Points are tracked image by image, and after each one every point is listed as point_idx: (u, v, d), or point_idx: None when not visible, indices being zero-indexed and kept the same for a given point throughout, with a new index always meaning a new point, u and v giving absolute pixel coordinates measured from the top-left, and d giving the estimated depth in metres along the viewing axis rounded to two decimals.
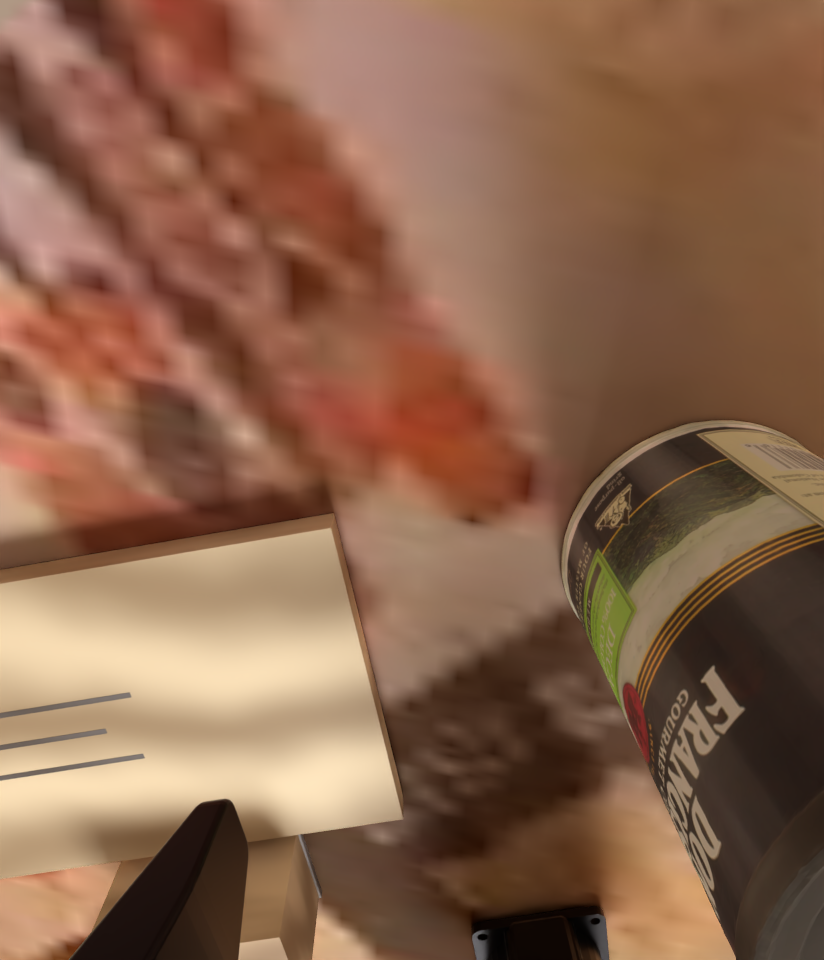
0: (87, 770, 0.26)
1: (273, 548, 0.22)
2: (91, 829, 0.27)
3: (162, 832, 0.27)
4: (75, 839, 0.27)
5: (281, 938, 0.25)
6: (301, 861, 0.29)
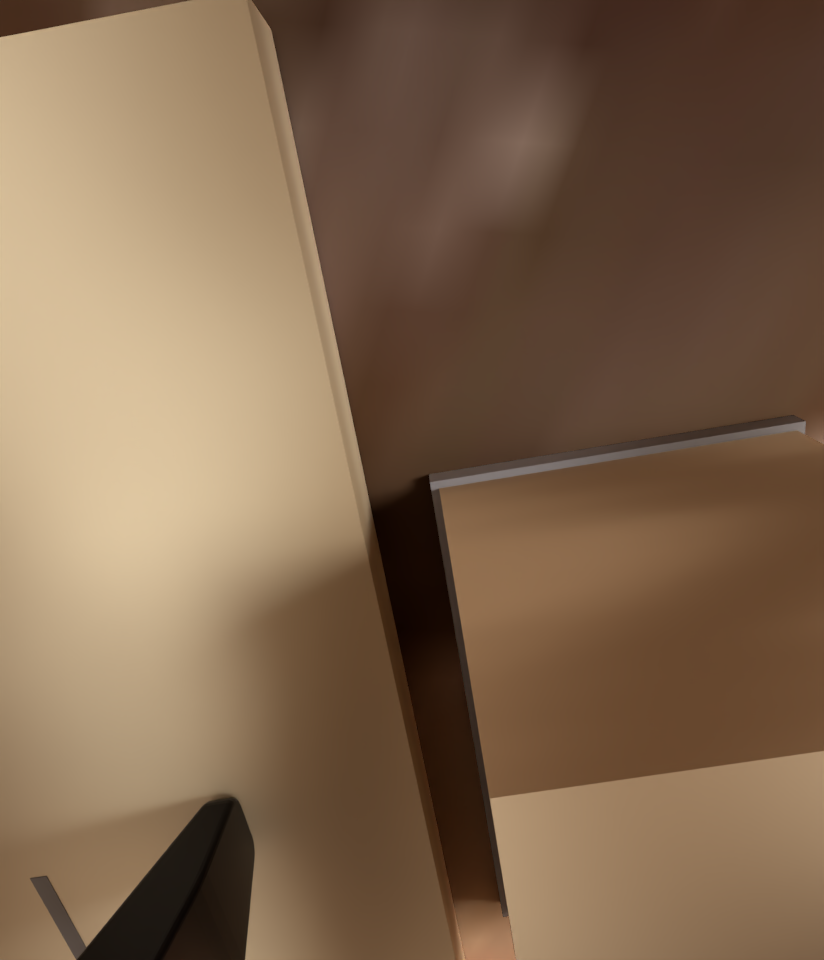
0: None
1: None
2: None
3: (342, 866, 0.09)
4: None
5: (531, 774, 0.04)
6: (548, 489, 0.07)
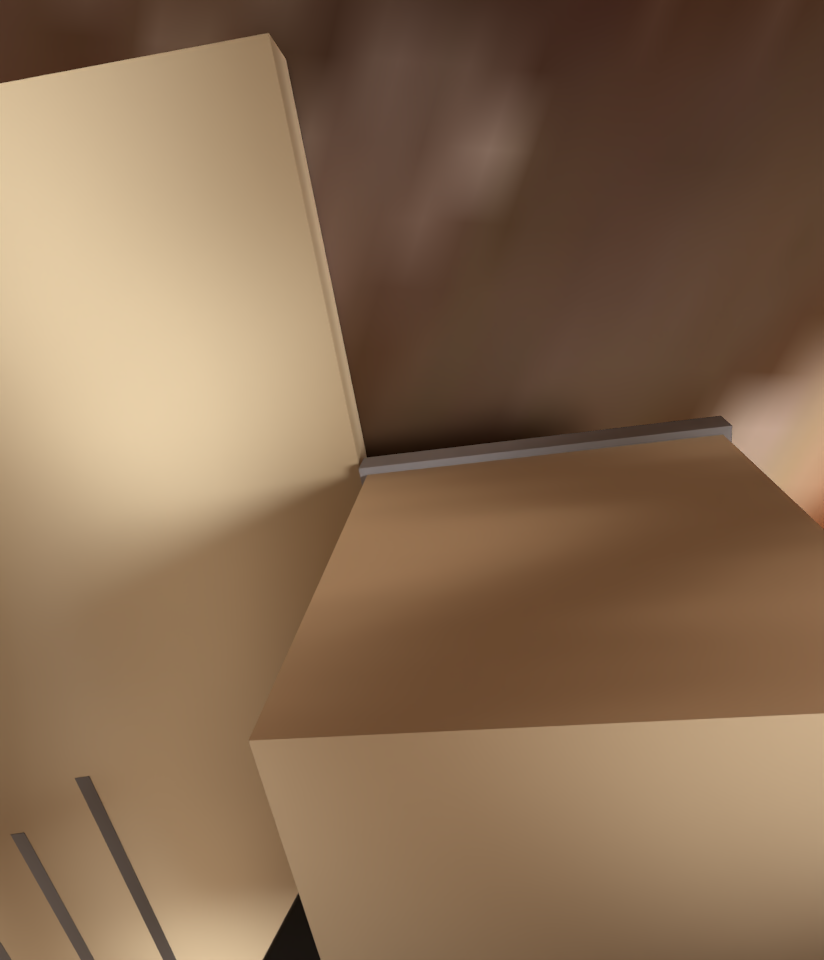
0: (147, 875, 0.11)
1: None
2: None
3: None
4: None
5: (294, 724, 0.04)
6: (460, 480, 0.08)
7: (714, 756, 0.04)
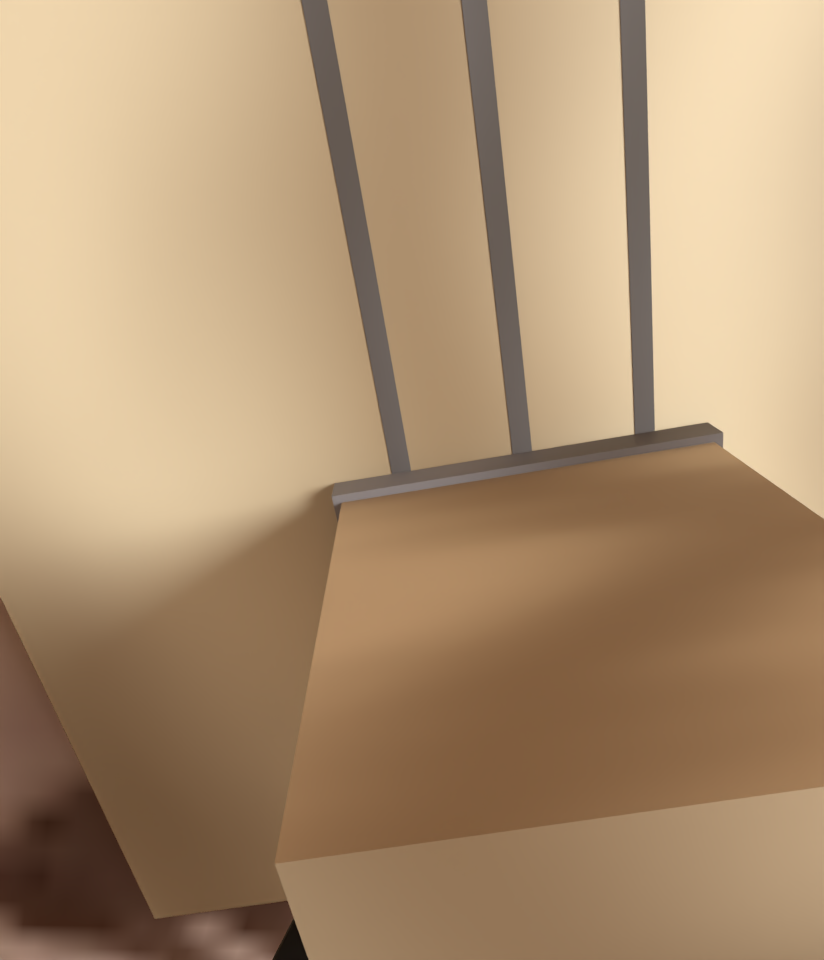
0: None
1: None
2: None
3: None
4: None
5: (326, 836, 0.03)
6: (449, 505, 0.07)
7: None
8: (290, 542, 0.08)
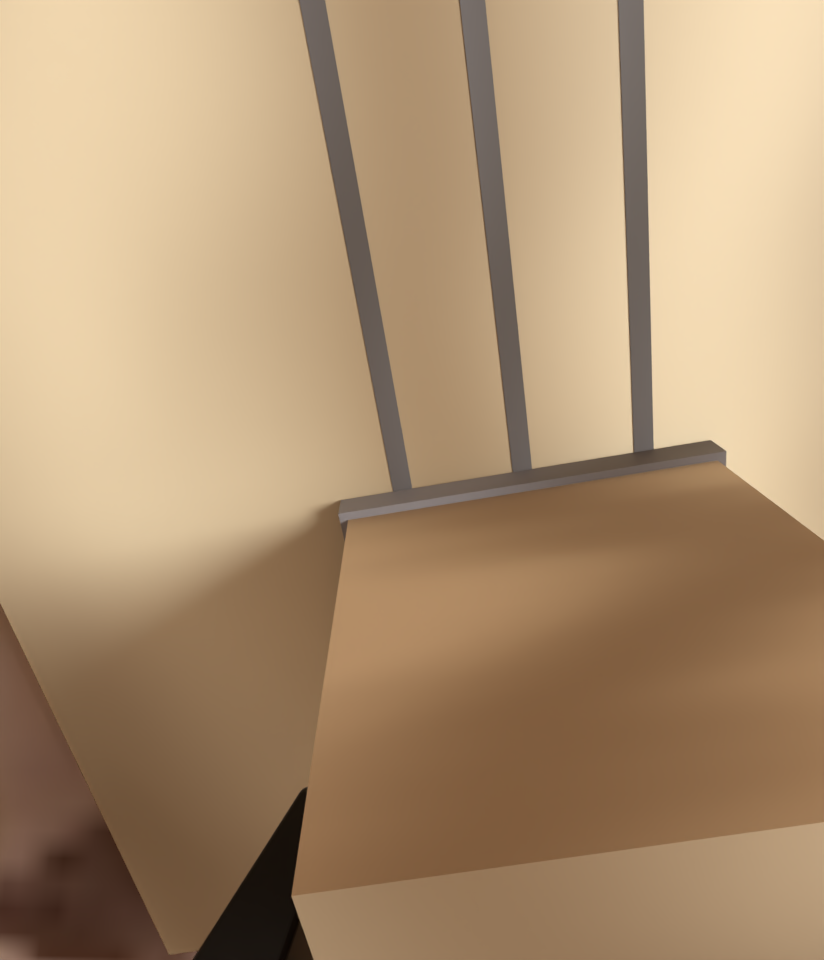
0: (664, 61, 0.06)
1: None
2: None
3: None
4: None
5: (342, 867, 0.04)
6: (455, 524, 0.07)
7: None
8: (304, 603, 0.09)
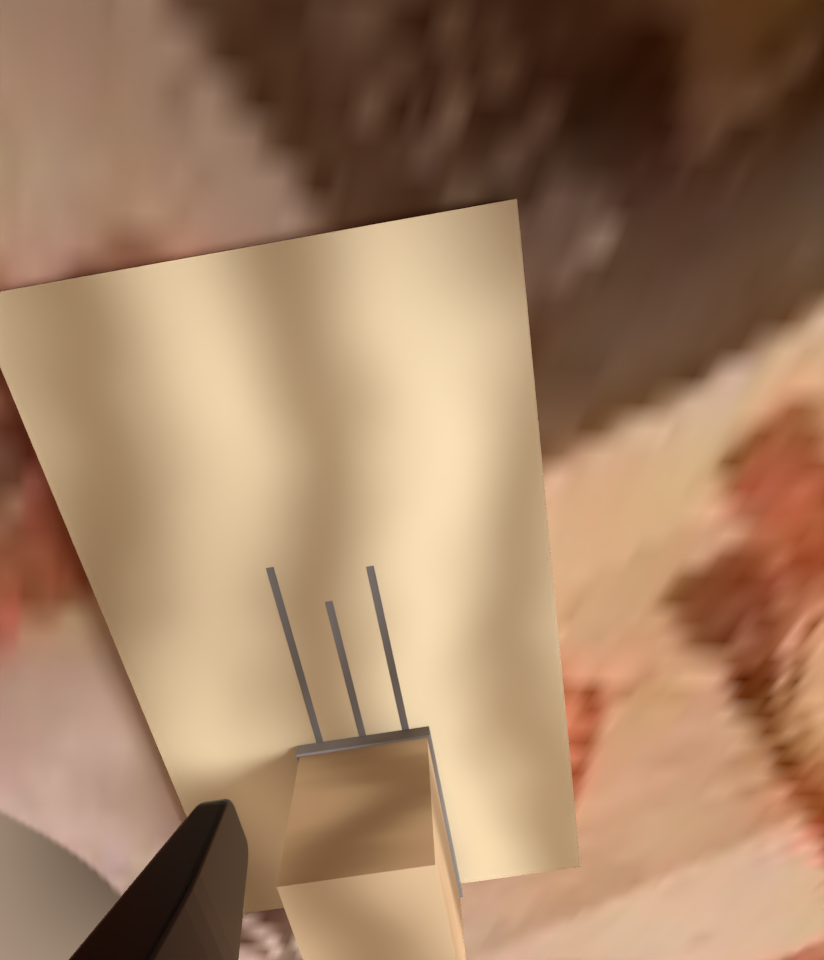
0: (393, 630, 0.21)
1: (19, 375, 0.17)
2: (494, 641, 0.21)
3: (509, 562, 0.20)
4: (510, 661, 0.21)
5: (287, 881, 0.18)
6: (334, 764, 0.21)
7: (382, 879, 0.18)
8: (285, 778, 0.23)
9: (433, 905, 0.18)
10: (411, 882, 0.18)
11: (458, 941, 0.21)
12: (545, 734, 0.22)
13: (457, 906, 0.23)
